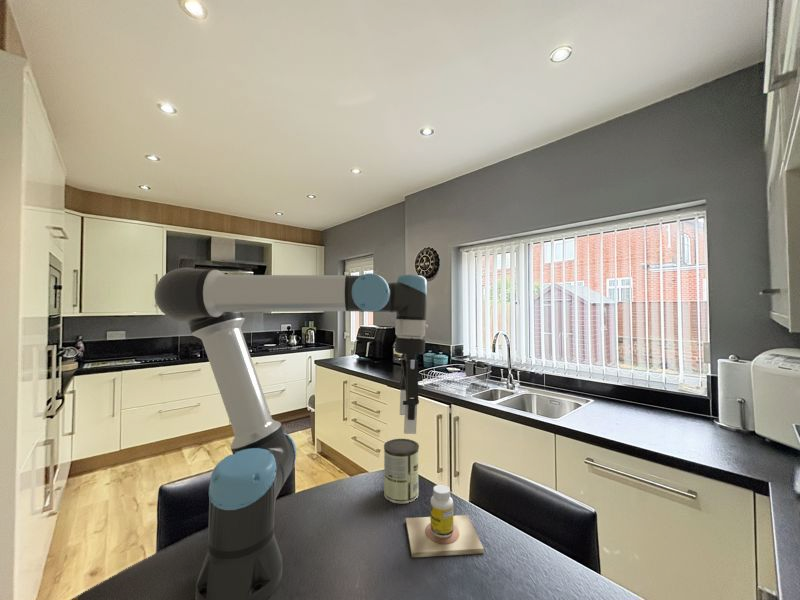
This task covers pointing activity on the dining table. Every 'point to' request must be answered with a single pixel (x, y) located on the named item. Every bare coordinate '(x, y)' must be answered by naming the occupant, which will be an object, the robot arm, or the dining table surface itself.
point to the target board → (431, 545)
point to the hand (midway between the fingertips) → (407, 423)
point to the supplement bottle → (441, 512)
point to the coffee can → (401, 470)
